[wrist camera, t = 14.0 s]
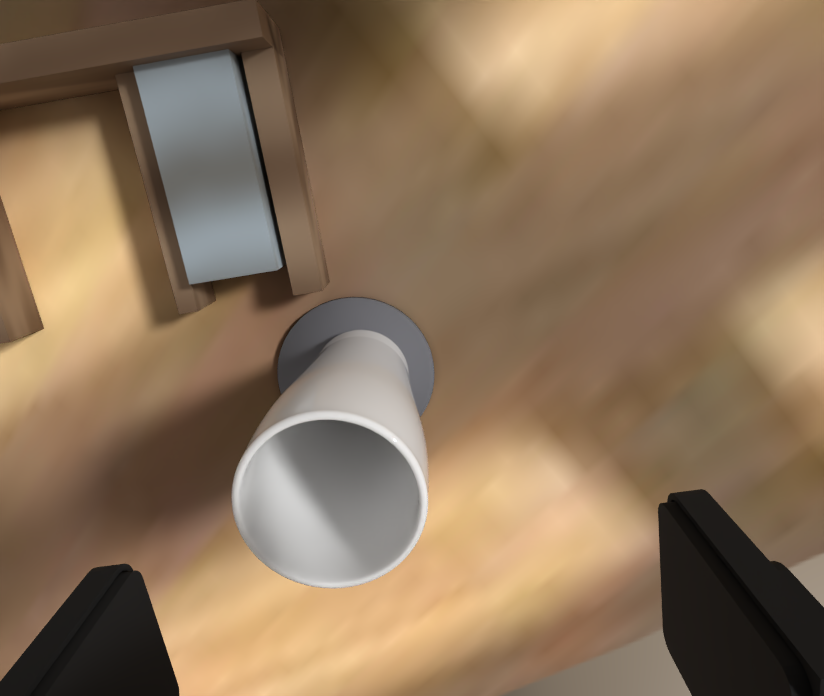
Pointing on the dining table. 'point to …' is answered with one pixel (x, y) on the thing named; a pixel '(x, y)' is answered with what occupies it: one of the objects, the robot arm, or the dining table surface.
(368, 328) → the felt coaster
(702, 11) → the dining table surface
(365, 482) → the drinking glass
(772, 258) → the dining table surface
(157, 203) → the walnut cubby
